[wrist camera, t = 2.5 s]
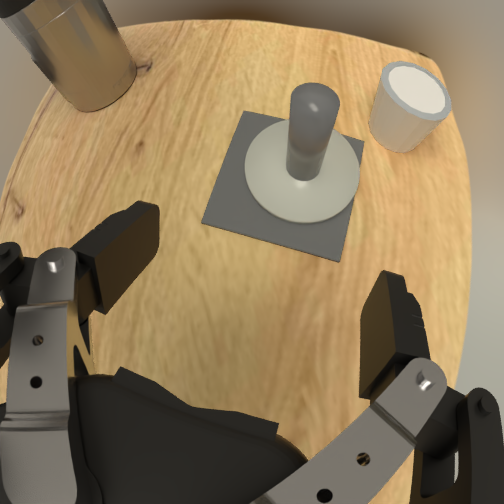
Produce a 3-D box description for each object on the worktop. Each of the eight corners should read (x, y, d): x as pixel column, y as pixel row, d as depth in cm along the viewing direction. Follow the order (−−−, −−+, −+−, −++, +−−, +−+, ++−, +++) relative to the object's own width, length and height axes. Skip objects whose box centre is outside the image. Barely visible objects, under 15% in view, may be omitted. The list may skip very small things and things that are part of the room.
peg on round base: (230, 206, 26) (208, 147, 17) (263, 114, 28) (259, 38, 18) (345, 239, 25) (385, 194, 16) (364, 141, 27) (396, 72, 17)
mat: (201, 223, 27) (201, 222, 26) (243, 112, 29) (243, 110, 28) (338, 262, 25) (339, 261, 25) (363, 142, 27) (364, 141, 27)
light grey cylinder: (375, 93, 29) (393, 49, 22) (430, 126, 27) (457, 88, 21) (352, 134, 28) (370, 89, 21) (412, 171, 27) (444, 134, 20)
